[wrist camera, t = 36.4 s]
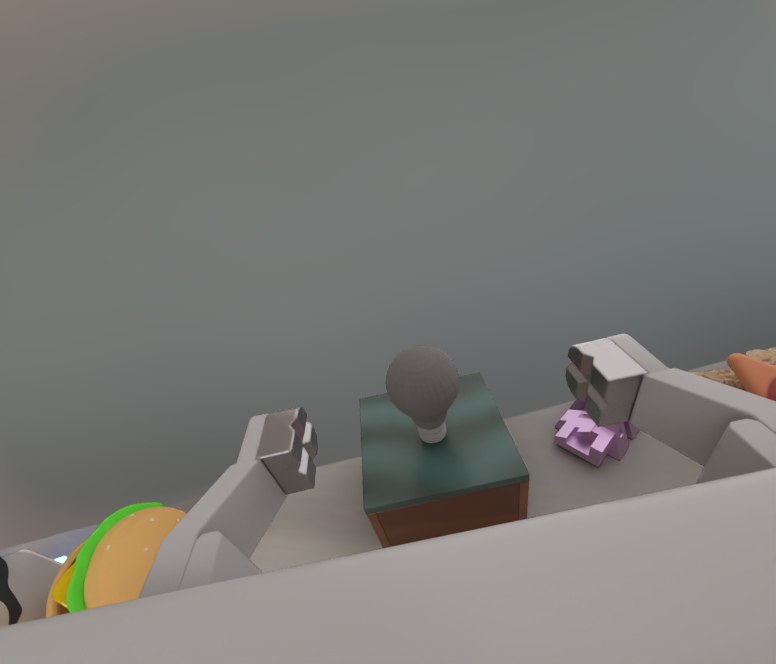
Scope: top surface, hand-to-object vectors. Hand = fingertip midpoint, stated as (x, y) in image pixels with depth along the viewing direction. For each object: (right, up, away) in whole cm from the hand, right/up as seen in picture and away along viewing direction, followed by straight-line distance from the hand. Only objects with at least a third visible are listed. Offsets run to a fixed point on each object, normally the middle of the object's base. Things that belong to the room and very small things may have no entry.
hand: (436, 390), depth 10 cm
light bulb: (+3, -8, +22) cm, 23 cm away
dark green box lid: (+3, -8, +23) cm, 24 cm away
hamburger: (-27, -22, +20) cm, 40 cm away
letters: (+21, -10, +28) cm, 37 cm away
